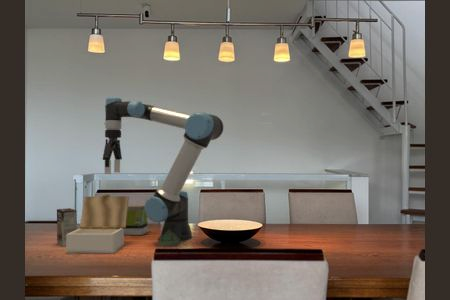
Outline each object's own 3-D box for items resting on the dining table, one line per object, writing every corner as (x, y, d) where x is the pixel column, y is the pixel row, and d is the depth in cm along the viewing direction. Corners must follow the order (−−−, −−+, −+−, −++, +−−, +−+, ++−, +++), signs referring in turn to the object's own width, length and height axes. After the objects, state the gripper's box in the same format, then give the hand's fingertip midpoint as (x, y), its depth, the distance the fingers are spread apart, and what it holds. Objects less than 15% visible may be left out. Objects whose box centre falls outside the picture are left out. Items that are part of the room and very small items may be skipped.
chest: (123, 245, 173) (123, 227, 173) (113, 253, 159) (112, 234, 159) (80, 245, 174) (80, 228, 174) (66, 253, 160) (66, 234, 160)
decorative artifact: (156, 243, 178) (158, 247, 169) (156, 227, 178) (158, 232, 169) (178, 241, 181) (181, 246, 171) (178, 226, 181) (181, 230, 171)
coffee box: (56, 243, 179) (56, 209, 179) (70, 241, 183) (70, 207, 183) (62, 247, 172) (62, 211, 172) (77, 244, 176) (76, 209, 176)
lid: (124, 228, 172) (125, 229, 174) (127, 194, 178) (129, 195, 180) (78, 228, 173) (80, 229, 175) (83, 194, 179) (85, 196, 181)
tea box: (148, 231, 204) (147, 204, 205) (142, 235, 194) (141, 206, 195) (120, 231, 206) (120, 204, 206) (113, 235, 196) (113, 206, 196)
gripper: (114, 130, 199) (113, 171, 198) (95, 127, 174) (95, 174, 174) (128, 131, 198) (127, 172, 198) (112, 128, 173) (111, 174, 173)
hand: (112, 173), depth 186 cm, fingers open, 13 cm apart
